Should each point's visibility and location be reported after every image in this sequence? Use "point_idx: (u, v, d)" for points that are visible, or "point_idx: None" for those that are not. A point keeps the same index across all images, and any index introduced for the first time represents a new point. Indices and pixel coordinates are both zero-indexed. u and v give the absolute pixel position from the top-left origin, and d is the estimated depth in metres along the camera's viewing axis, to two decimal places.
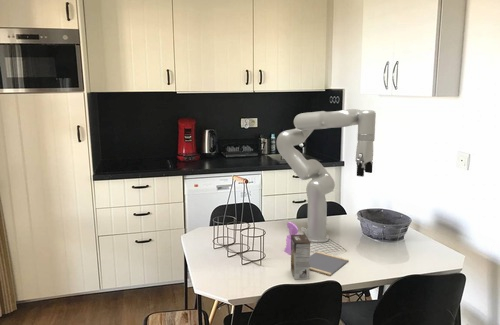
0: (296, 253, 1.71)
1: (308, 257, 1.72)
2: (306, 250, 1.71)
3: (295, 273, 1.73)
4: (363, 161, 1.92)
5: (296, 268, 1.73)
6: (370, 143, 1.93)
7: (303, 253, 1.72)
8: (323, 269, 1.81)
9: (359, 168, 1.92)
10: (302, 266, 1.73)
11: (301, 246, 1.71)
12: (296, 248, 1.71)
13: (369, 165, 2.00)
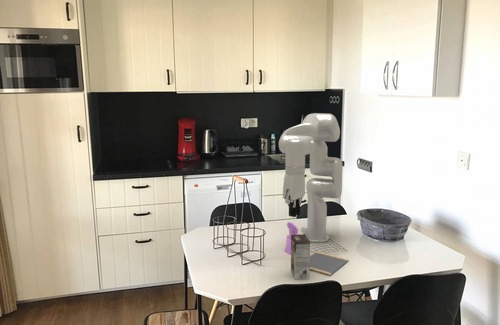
0: (296, 253, 1.71)
1: (308, 257, 1.72)
2: (306, 250, 1.71)
3: (295, 273, 1.73)
4: None
5: (296, 268, 1.73)
6: (299, 177, 1.64)
7: (303, 253, 1.72)
8: (323, 269, 1.81)
9: (291, 207, 1.66)
10: (302, 266, 1.73)
11: (301, 246, 1.71)
12: (296, 248, 1.71)
13: (297, 206, 1.69)
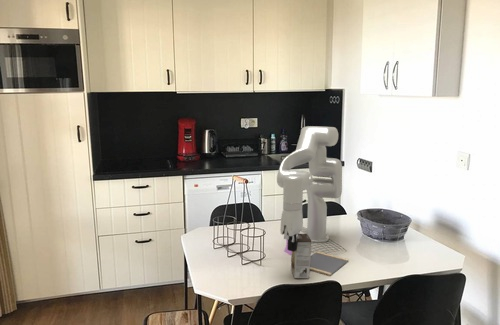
0: (297, 251, 1.72)
1: (309, 256, 1.73)
2: (307, 248, 1.72)
3: (295, 271, 1.73)
4: (291, 235, 1.67)
5: (296, 266, 1.73)
6: (297, 213, 1.65)
7: (304, 251, 1.72)
8: (323, 269, 1.81)
9: (289, 242, 1.68)
10: (302, 265, 1.73)
11: (302, 244, 1.71)
12: (297, 246, 1.71)
13: None
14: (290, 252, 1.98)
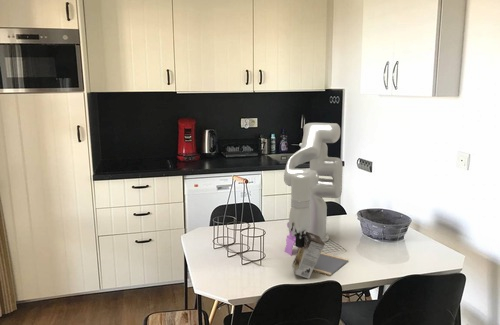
0: (307, 250, 1.72)
1: (317, 258, 1.73)
2: (318, 250, 1.72)
3: (299, 268, 1.73)
4: (299, 232, 1.72)
5: (302, 264, 1.73)
6: (304, 210, 1.70)
7: (313, 252, 1.72)
8: (323, 269, 1.81)
9: (297, 239, 1.74)
10: (307, 264, 1.73)
11: (315, 245, 1.71)
12: (309, 245, 1.71)
13: None
14: (290, 252, 1.98)
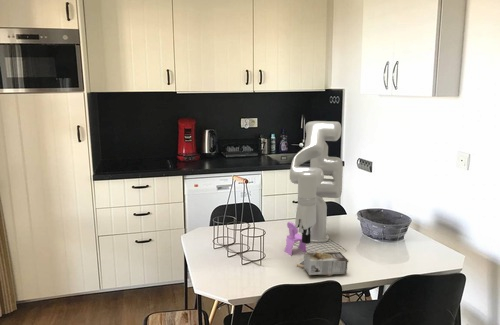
0: (336, 261, 1.75)
1: (331, 273, 1.75)
2: (339, 271, 1.76)
3: (316, 261, 1.74)
4: (306, 228, 1.76)
5: (321, 262, 1.74)
6: (311, 207, 1.75)
7: (336, 267, 1.75)
8: None
9: (304, 235, 1.78)
10: (323, 267, 1.74)
11: (343, 265, 1.76)
12: (341, 261, 1.75)
13: None
14: (290, 252, 1.98)
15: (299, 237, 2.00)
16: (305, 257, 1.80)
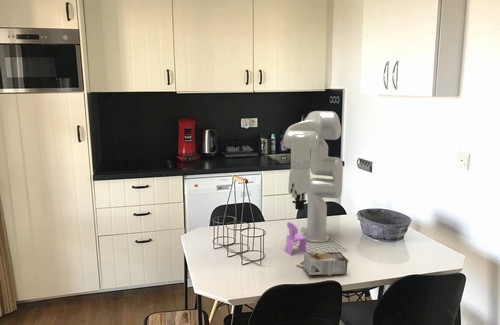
0: (336, 261, 1.75)
1: (331, 273, 1.75)
2: (339, 271, 1.76)
3: (316, 261, 1.74)
4: (299, 194, 1.69)
5: (321, 262, 1.74)
6: (305, 171, 1.67)
7: (336, 267, 1.75)
8: None
9: (297, 201, 1.70)
10: (323, 267, 1.74)
11: (343, 265, 1.76)
12: (341, 261, 1.75)
13: None
14: (290, 252, 1.98)
15: (299, 237, 2.00)
16: (305, 257, 1.80)
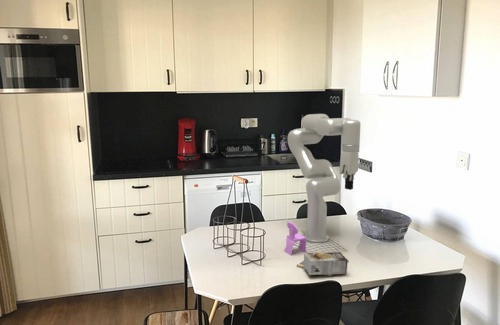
0: (336, 261, 1.75)
1: (331, 273, 1.75)
2: (339, 271, 1.76)
3: (316, 261, 1.74)
4: (349, 174, 1.86)
5: (321, 262, 1.74)
6: (355, 154, 1.85)
7: (336, 267, 1.75)
8: None
9: (347, 181, 1.88)
10: (323, 267, 1.74)
11: (343, 265, 1.76)
12: (341, 261, 1.75)
13: None
14: (290, 252, 1.98)
15: (299, 237, 2.00)
16: (305, 257, 1.80)
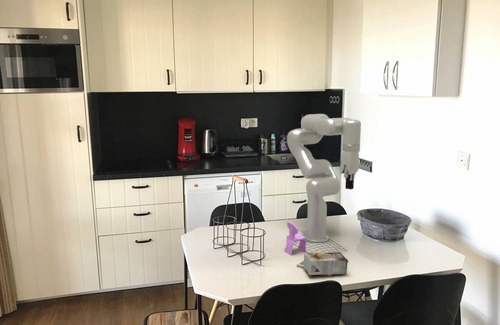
0: (336, 261, 1.75)
1: (331, 273, 1.75)
2: (339, 271, 1.76)
3: (316, 261, 1.74)
4: None
5: (321, 262, 1.74)
6: (355, 154, 1.85)
7: (336, 267, 1.75)
8: None
9: (348, 181, 1.88)
10: (323, 267, 1.74)
11: (343, 265, 1.76)
12: (341, 261, 1.75)
13: None
14: (290, 252, 1.98)
15: (299, 237, 2.00)
16: (305, 257, 1.80)
